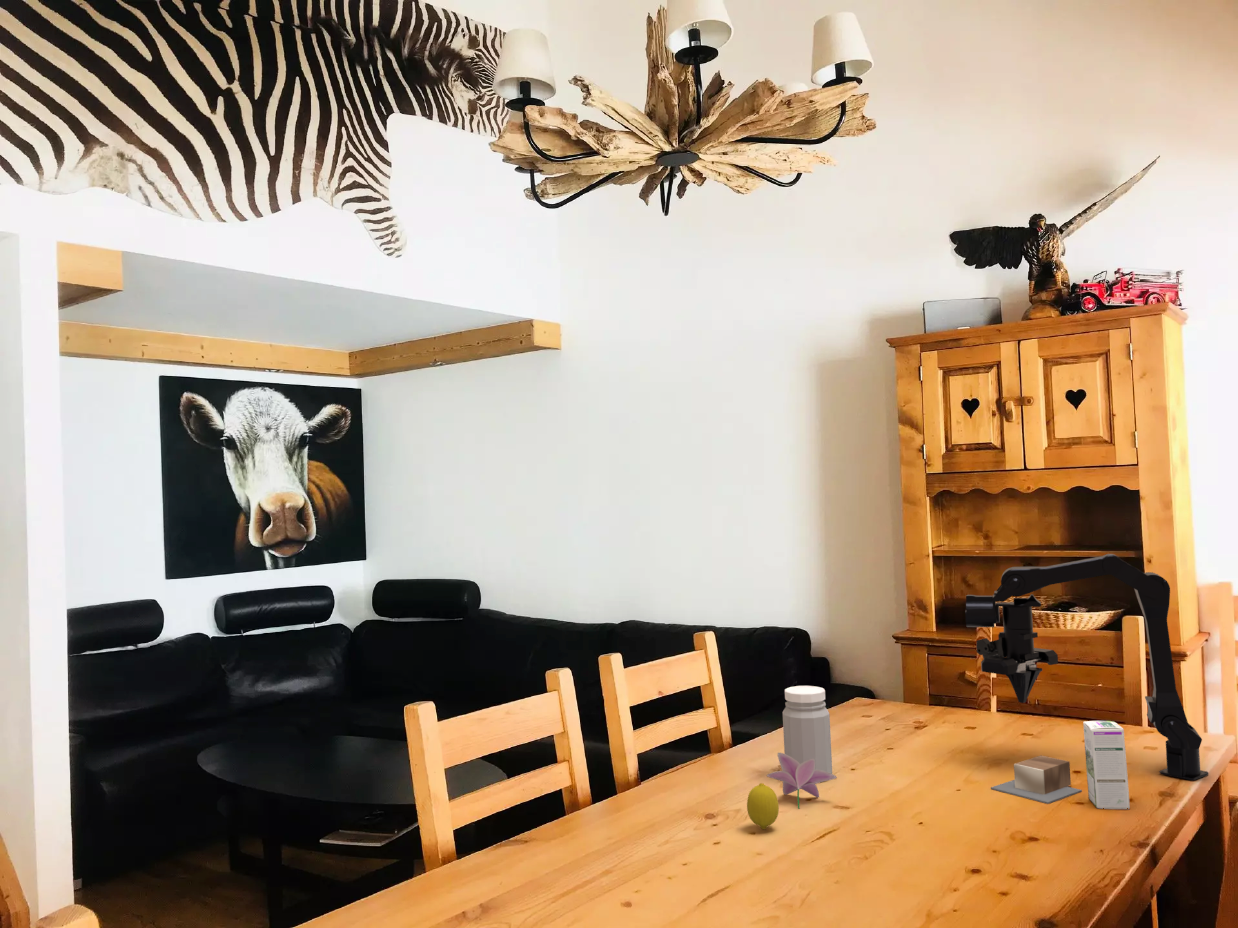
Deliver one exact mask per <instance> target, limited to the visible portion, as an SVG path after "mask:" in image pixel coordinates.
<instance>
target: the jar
mask: <svg viewBox="0 0 1238 928" xmlns="http://www.w3.org/2000/svg"><path fill="white" fill-rule="evenodd" d="M784 699H785V700H786V701H785V702H784V704H785V707H784V709H783V711H782V726H783V727H782V729H783V731H782V733H783V747H784V749H783V750H784V752H783V754H786V755H788V756H790V757H792V758H794V759H795V760H797V761H798V762H799V763H800V764H801V763H803V762H805V761H807V760H810V759H814V760H815V770H822V771H826V772H829V773H831V774H833V760H832V759H833V758H832V757H833V756H832V737H831V721H830V720H831V719H830V717H831V715H830V712H829V710H828V709H827V707H826V705H827V704H826V701H825V700H826V690H825V688H823V687H820V686H814V685H796V686H790V687H787V688H785V689H784Z"/></svg>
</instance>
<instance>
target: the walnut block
mask: <svg viewBox="0 0 1238 928" xmlns="http://www.w3.org/2000/svg"><path fill="white" fill-rule="evenodd" d="M1070 762H1071V761H1070V760H1069V761H1068V760H1064V759H1059V758H1055V757H1049V756H1046V755H1039V756H1038V755H1037V756H1034V757H1032V758H1028V759H1025V760H1022V761H1019V762H1016V763H1013V772H1014V776H1013V777H1014V780H1015V788H1019V789H1023V790H1027V791H1031V792H1035V793H1039V794H1043V795H1044V794H1047V793H1050V792H1053V791H1056V790H1058V789H1061V788H1064V787H1071V785H1072V781H1071V779H1072V778H1071V765H1070V764H1071V763H1070Z"/></svg>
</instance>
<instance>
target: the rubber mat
mask: <svg viewBox="0 0 1238 928" xmlns="http://www.w3.org/2000/svg"><path fill="white" fill-rule="evenodd" d="M990 789H991V790H993V791H996V792H997V791H998V792H1001V793H1005V794H1008V795H1013V796H1016V797H1020V798H1024V799H1028V800H1032V801H1036V802H1039V803H1043V804H1047V805H1049V804H1052V803H1054V802H1057V801H1060V800H1062V799H1065V798H1069V797H1071V796H1073V795H1076V794H1079V793H1082V792H1083V790H1082V789H1079V788H1075V787H1071V786H1067V787H1064V788H1061V789H1058V790H1056V791H1053V792H1050V793H1047V794H1044V795H1043V794H1039V793H1035V792H1031V791H1027V790H1023V789H1019V788H1015V779H1012V780H1010V781H1006V782H1003V783H1000V784H997V785H993V786H991V787H990Z"/></svg>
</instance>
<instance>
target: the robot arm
mask: <svg viewBox="0 0 1238 928" xmlns="http://www.w3.org/2000/svg"><path fill="white" fill-rule="evenodd" d="M1107 575H1108V576H1109V575H1111V576H1112V577H1114V578H1116V579H1118V580H1119V581H1121V582H1122V583H1124V584H1126V585H1128V586H1129V587H1131V588H1133V589H1134V592H1135V596H1136V599H1137V601H1138V604H1139V607H1140V609H1141V612H1142V615H1143V618H1144V622H1145V629H1146V638H1147V646H1148V651H1149V652H1148V653H1149V660H1150V668H1151V675H1152V682H1153V683H1152V684H1153V691H1152V696H1147V695H1145V696H1144V698H1145V703H1146V705H1147V714H1146V716H1147V718H1148V720H1149V721H1150V723H1151V724H1153V726H1154V727H1155V729H1156V731H1157V732H1158V733H1159V734H1160V735H1162V736H1163V737H1165V738H1167V740H1165V751H1166V752H1165V753H1166V754H1165V755H1166V756H1165V758H1166V768H1164V769H1161V770H1159V774H1160V775H1164V776H1169V777H1174V778H1179V779H1184V780H1187V781H1188V780H1189V781H1195V780H1198V779H1201V778H1203V777H1207V776H1208V775H1209V772H1208V771H1207V770H1206V771H1205V770H1201V761H1200V760H1201V759H1200V758H1201V757H1200V748H1201V745H1202V742H1203V738H1202V737H1201V736H1200V734H1199V733H1198V732H1197V729H1195V728H1194V726H1192V724H1190V723H1189V722H1188V718H1187V716H1186V713H1185V710H1184V706H1183V704H1182V701H1181V699H1180V695H1179V694H1178V690H1177V685H1176V677H1175V669H1174V663H1173V662H1174V661H1173V656H1172V655H1173V654H1172V647H1171V640H1170V632H1169V625H1168V616H1169V615H1168V614H1169V610H1170V603H1171V602H1170V600H1171V587H1170V584H1169V582H1168V581H1167V580H1166V579H1165V578H1164V577H1162V576H1161V575H1159V574H1158V573H1155V572H1153V571H1151V572H1150V571H1147V572H1144V571H1142V570H1140V569H1139V568H1137V567H1135V566H1134V565H1132V564H1129V563H1127V562H1126V561H1124V560H1123V559H1121V558H1120V557H1119V556H1117V555H1116V554H1114V553H1107V554H1104V555H1100V556H1096V557H1090V558H1084V559H1080V560H1074V561H1070V562H1063V563H1058V564H1053V565H1048V566H1012V567H1009V568H1007V569H1005V570H1004V571H1003V573H1002V575H1001V577H1000V586H999V587H997V589H996V590H994V593H993V594H992V595H976V594H967V595H965V611H964V613H965V624H966V627H967V628H995V625H996V624H997V623H999V624H1000V623H1001V621H1000V607H1001V609H1002V622H1003V623H1002V624H1003V631H1000V632H999V633H998V639H996V640H991V641H990V640H989V639H988V638H987V637H986V638H985V637H984V638H980V639H978V640H976V646H975V647H976V653H977V654H978V655H980V656H982V658H983V659H982V660H981V661H980V665H981V666H980V667H981V669H980V670H981V672H982V673H990V674H996V675H997V674H998V675H1001V676H1006V677H1007V678H1008V680H1009V681H1010V683H1011V686H1012V688H1013V691H1014V694H1015V696H1016V699H1017V701H1018V702H1019V703H1020V704H1025V703H1026V702H1027V700H1028V699H1029V695H1030V693H1031V692H1032V689H1033V687H1034V684H1035V682H1036V681H1037V679H1038V677H1039V675H1040V673H1041V672H1043V668H1042V667H1037V664H1036V663H1038V662H1041V663H1042V662H1043V663H1047V664H1048V665H1049V666H1052V665H1057V664H1059V657H1058V654H1057V652H1056V651H1055V650H1054V649H1048V648H1047V649H1046V648H1041V647H1040V648H1038V647H1035V645H1034V643H1035V642H1034V639H1035V638H1038V632H1036V631H1034V626H1033V611H1032V610H1033V607H1035V608H1037V607H1038V608H1039V607H1041V606H1042V602H1041V601H1040V600H1038V599H1037V598H1036V597H1035V595H1034V594H1032V592H1036V591H1038V590H1041V589H1043V588H1045V587H1049V586H1051V585H1057V584H1061V583H1067V582H1073V581H1079V580H1085V579H1090V578H1095V577H1096V578H1097V577H1102V576H1107ZM1030 593H1031V594H1030ZM1027 594H1028V595H1029V594H1030V595H1029V596H1028V597H1023V596H1024V595H1027ZM1012 597H1013V601H1007V602H1005V601H1006V600H1008V599H1010V598H1012Z"/></svg>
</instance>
